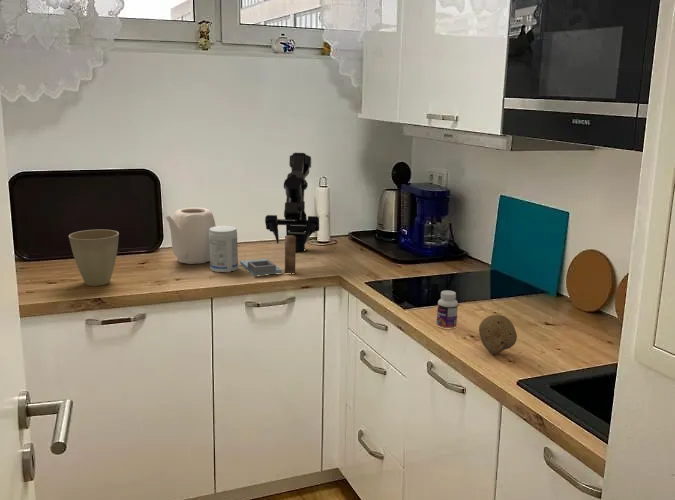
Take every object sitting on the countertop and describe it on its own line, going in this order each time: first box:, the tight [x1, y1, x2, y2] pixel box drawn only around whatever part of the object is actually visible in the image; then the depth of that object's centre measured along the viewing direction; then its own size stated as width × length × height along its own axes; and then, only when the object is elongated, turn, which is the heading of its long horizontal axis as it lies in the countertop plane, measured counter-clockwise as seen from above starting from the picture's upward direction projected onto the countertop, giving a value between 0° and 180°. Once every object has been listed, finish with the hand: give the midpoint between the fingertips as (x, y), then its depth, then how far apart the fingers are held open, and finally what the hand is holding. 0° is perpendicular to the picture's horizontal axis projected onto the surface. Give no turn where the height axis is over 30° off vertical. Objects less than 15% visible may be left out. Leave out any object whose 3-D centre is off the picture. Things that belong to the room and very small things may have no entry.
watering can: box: [165, 207, 217, 265], centre depth 244 cm, size 16×27×19 cm, turn 154°
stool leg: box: [284, 235, 297, 274], centre depth 233 cm, size 4×4×13 cm
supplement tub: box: [209, 225, 239, 273], centre depth 235 cm, size 10×10×15 cm
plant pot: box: [68, 229, 120, 287], centre depth 216 cm, size 15×15×16 cm
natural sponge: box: [478, 314, 518, 355], centre depth 167 cm, size 9×9×10 cm
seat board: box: [239, 258, 283, 277], centre depth 237 cm, size 17×10×4 cm, turn 24°
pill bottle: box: [436, 290, 459, 329], centre depth 185 cm, size 5×5×10 cm
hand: (290, 243), depth 235 cm, fingers open, 9 cm apart
